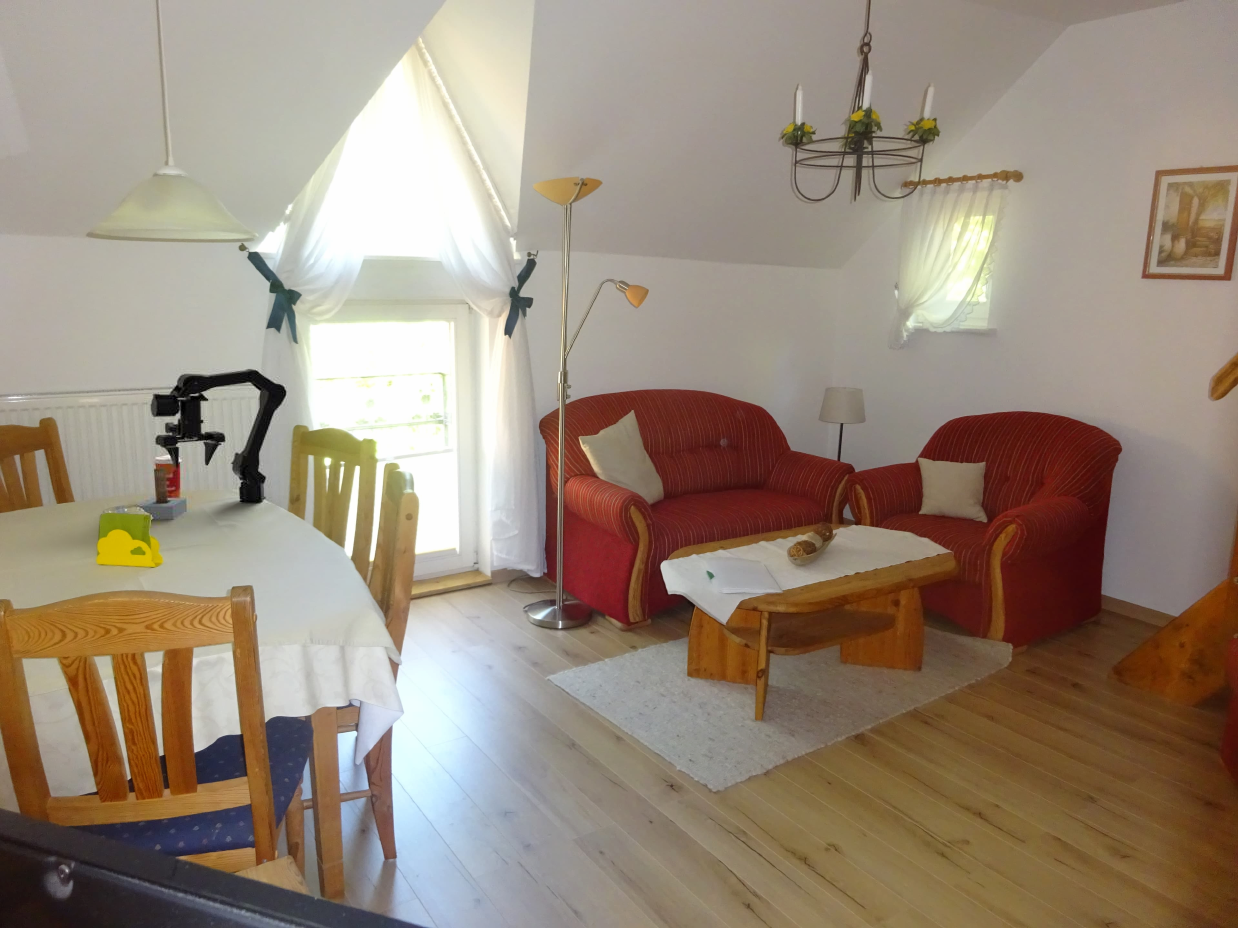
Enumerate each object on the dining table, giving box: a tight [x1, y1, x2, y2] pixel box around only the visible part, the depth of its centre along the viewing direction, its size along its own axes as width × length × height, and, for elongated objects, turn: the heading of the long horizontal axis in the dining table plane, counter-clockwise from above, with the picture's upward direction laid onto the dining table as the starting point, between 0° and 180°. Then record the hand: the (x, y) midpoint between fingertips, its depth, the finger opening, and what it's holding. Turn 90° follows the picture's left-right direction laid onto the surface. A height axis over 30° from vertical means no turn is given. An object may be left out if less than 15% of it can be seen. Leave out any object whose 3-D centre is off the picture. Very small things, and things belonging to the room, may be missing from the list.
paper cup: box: [153, 454, 182, 498], centre depth 267 cm, size 8×8×14 cm
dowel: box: [153, 467, 168, 504], centre depth 250 cm, size 3×3×13 cm
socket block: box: [136, 497, 188, 521], centre depth 251 cm, size 10×10×4 cm
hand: (191, 466), depth 257 cm, fingers open, 9 cm apart
